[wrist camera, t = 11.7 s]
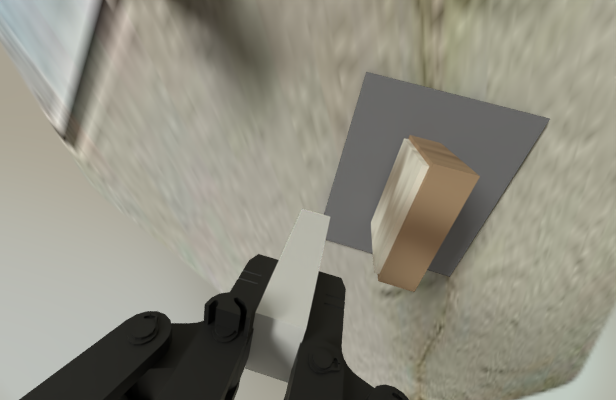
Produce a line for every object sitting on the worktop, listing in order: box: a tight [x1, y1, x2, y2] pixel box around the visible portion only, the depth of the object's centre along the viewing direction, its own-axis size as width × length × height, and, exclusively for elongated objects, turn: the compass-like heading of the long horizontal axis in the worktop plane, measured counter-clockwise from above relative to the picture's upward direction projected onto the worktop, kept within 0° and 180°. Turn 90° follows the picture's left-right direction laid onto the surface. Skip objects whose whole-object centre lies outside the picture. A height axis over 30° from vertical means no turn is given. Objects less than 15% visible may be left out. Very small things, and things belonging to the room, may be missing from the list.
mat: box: [324, 72, 550, 277], centre depth 24 cm, size 16×14×1 cm
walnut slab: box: [371, 135, 480, 292], centre depth 20 cm, size 9×3×8 cm, turn 167°
